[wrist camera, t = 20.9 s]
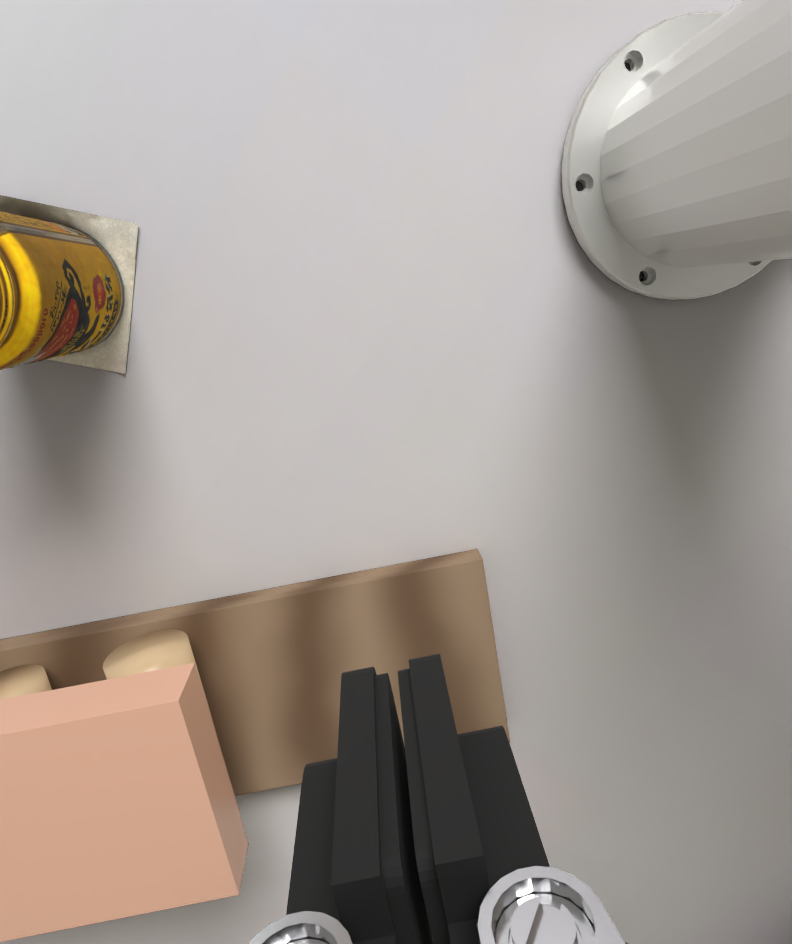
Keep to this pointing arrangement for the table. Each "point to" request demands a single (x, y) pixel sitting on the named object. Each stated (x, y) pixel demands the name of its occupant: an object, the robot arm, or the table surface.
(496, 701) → the track
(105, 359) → the condiment
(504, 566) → the table surface
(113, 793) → the pink toy brick
